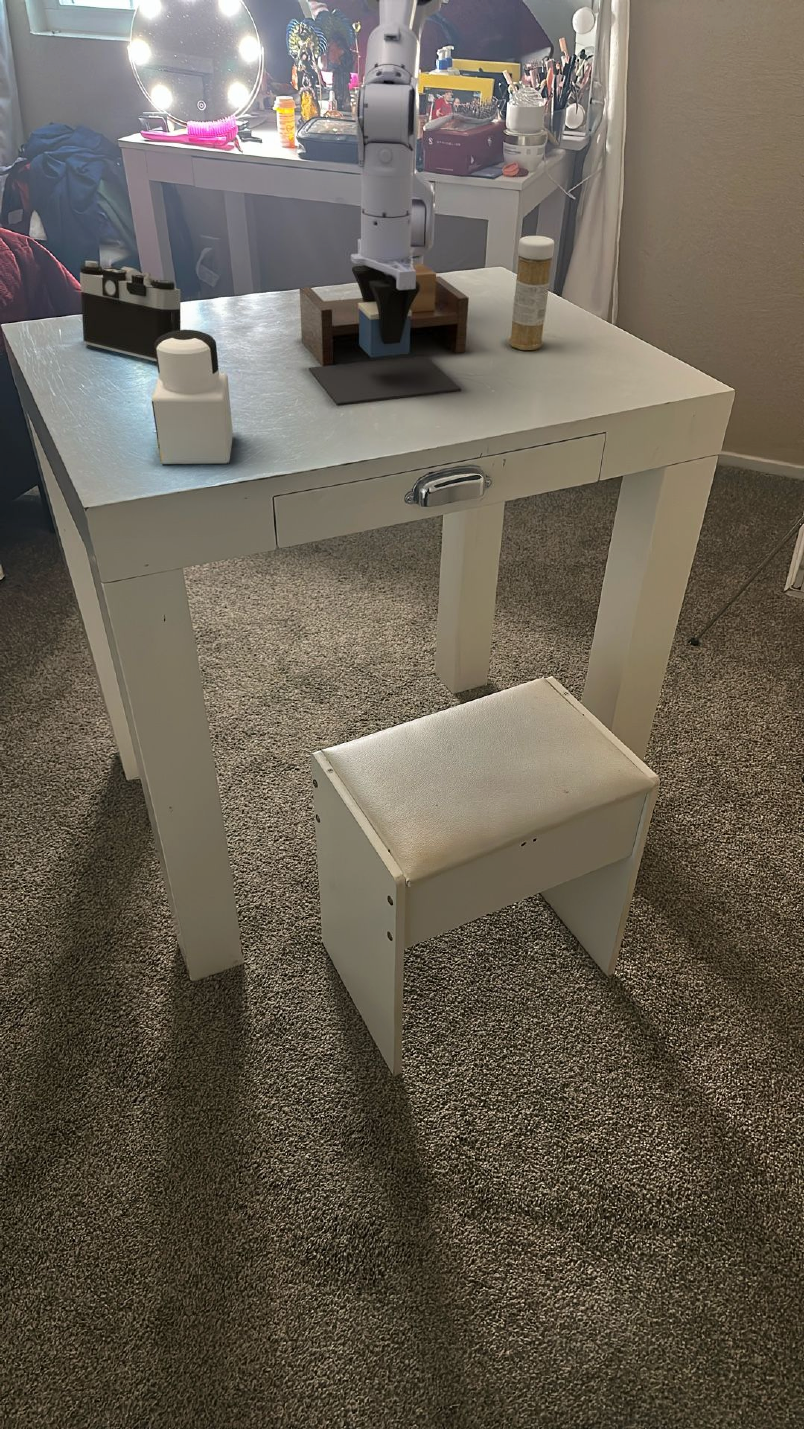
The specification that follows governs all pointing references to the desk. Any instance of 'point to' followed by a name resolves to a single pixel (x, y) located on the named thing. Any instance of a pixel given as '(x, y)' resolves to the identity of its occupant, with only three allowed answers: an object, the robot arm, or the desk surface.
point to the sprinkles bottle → (531, 291)
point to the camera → (127, 309)
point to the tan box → (424, 289)
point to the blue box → (379, 333)
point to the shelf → (343, 320)
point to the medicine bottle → (191, 400)
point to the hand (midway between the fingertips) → (384, 335)
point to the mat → (383, 380)
